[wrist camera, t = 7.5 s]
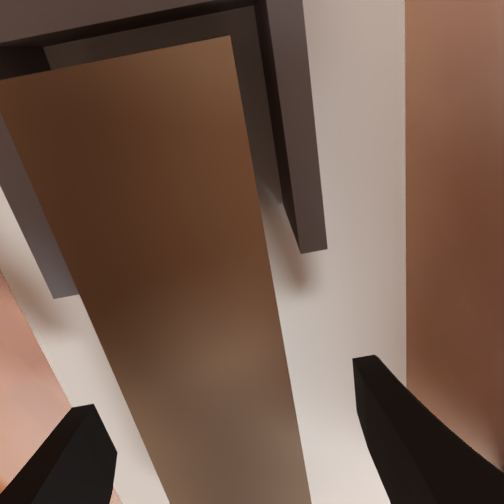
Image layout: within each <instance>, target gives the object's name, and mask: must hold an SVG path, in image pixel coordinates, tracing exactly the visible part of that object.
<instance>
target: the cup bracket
mask: <svg viewBox="0 0 504 504" xmlns="http://www.w3.org/2000/svg"><path fill="white" fill-rule="evenodd" d="M229 35H230V38H231V43H232V49H233V55H234V61H235V66H236V72H237V78H238V84H239V89H240V95H241V101H242V106H243V112H244V118H245V124H246V129H247V135H248V141H249V147H250V152H251V158H252V164H253V170H254V175H255V181H256V187H257V192H258V198H259V204H260V210H261V215H262V221H263V227H264V233H265V238H266V244H267V250H268V256H269V261H270V267H271V273H272V278H273V284H274V290H275V296H276V301H277V307H278V313H279V319H280V324H281V330H282V336H283V342H284V347H285V353H286V359H287V364H288V370H289V376H290V382H291V387H292V393H293V399H294V405H295V410H296V416H297V422H298V428H299V433H300V439H301V445H302V450H303V456H304V462H305V468H306V473H307V479H308V485H309V491H310V496H311V502H312V504H391V503H390V500H389V498H388V496H387V493H386V491H385V488H384V486H383V484H382V481H381V479H380V477H379V474H378V472H377V469H376V467H375V465H374V462H373V460H372V457H371V455H370V453H369V450H368V447H367V444H366V441H365V438H364V435H363V431H362V428H361V425H360V421H359V418H358V415H357V411H356V398H355V386H354V374H353V362H352V358H358V357H364V356H369V355H376V356H377V357H379V358H380V359H381V361H382V362H383V363H384V364H385V365H386V366H387V368H388V369H389V370H390V371H391V372H392V373H393V374H394V375H395V376H396V378H397V379H398V380H399V381H400V382H401V383H402V384H403V385H404V386H405V387H406V161H405V0H0V80H3V79H9V78H14V77H19V76H24V75H29V74H34V73H39V72H44V71H50V70H55V69H60V68H65V67H70V66H75V65H80V64H86V63H91V62H96V61H101V60H106V59H111V58H116V57H121V56H127V55H132V54H137V53H142V52H147V51H152V50H157V49H163V48H168V47H173V46H178V45H183V44H188V43H193V42H198V41H204V40H209V39H214V38H219V37H224V36H229ZM0 271H1V272H2V274H3V276H4V278H5V280H6V282H7V284H8V286H9V288H10V290H11V292H12V293H13V295H14V297H15V299H16V301H17V303H18V305H19V307H20V309H21V311H22V313H23V315H24V316H25V318H26V320H27V322H28V324H29V326H30V328H31V330H32V332H33V334H34V336H35V337H36V339H37V341H38V343H39V345H40V347H41V349H42V351H43V353H44V355H45V357H46V358H47V360H48V362H49V364H50V366H51V368H52V370H53V372H54V374H55V376H56V378H57V380H58V381H59V383H60V385H61V387H62V389H63V391H64V393H65V395H66V397H67V399H68V401H69V402H70V404H71V406H72V407H77V406H83V405H89V404H94V405H95V407H96V409H97V411H98V413H99V415H100V417H101V420H102V422H103V424H104V426H105V428H106V430H107V432H108V434H109V436H110V438H111V440H112V442H113V444H114V446H115V448H116V450H117V452H118V453H117V461H116V469H115V477H114V483H113V487H114V488H115V490H116V492H117V494H118V496H119V498H120V500H121V502H122V504H170V503H169V500H168V498H167V496H166V493H165V491H164V489H163V486H162V484H161V482H160V480H159V477H158V475H157V473H156V470H155V468H154V466H153V463H152V461H151V459H150V456H149V454H148V452H147V450H146V447H145V445H144V443H143V440H142V438H141V436H140V433H139V431H138V429H137V426H136V424H135V422H134V420H133V417H132V415H131V413H130V410H129V408H128V406H127V403H126V401H125V399H124V396H123V394H122V392H121V390H120V387H119V385H118V383H117V380H116V378H115V376H114V373H113V371H112V369H111V366H110V364H109V362H108V360H107V357H106V355H105V353H104V350H103V348H102V346H101V343H100V341H99V339H98V336H97V334H96V332H95V329H94V327H93V325H92V323H91V320H90V318H89V316H88V313H87V311H86V309H85V306H84V304H83V302H82V299H81V297H80V295H79V293H78V290H77V288H76V286H75V283H74V281H73V279H72V276H71V274H70V272H69V269H68V267H67V265H66V263H65V260H64V258H63V256H62V253H61V251H60V249H59V246H58V244H57V242H56V239H55V237H54V235H53V233H52V230H51V228H50V226H49V223H48V221H47V219H46V216H45V214H44V212H43V209H42V207H41V205H40V203H39V200H38V198H37V196H36V193H35V191H34V189H33V186H32V184H31V182H30V179H29V177H28V175H27V173H26V170H25V168H24V166H23V163H22V161H21V159H20V156H19V154H18V152H17V149H16V147H15V145H14V143H13V140H12V138H11V136H10V133H9V131H8V129H7V126H6V124H5V122H4V119H3V117H2V115H1V113H0Z"/></svg>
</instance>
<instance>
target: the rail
mask: <svg viewBox="0 0 504 504" xmlns="http://www.w3.org/2000/svg"><path fill="white" fill-rule="evenodd" d="M0 113H1V115H2V117H3V119H4V122H5V124H6V126H7V129H8V131H9V133H10V136H11V138H12V140H13V143H14V145H15V147H16V149H17V152H18V154H19V156H20V159H21V161H22V163H23V166H24V168H25V170H26V173H27V175H28V177H29V179H30V182H31V184H32V186H33V189H34V191H35V193H36V196H37V198H38V200H39V203H40V205H41V207H42V209H43V212H44V214H45V216H46V219H47V221H48V223H49V226H50V228H51V230H52V233H53V235H54V237H55V239H56V242H57V244H58V246H59V249H60V251H61V253H62V256H63V258H64V260H65V263H66V265H67V267H68V269H69V272H70V274H71V276H72V279H73V281H74V283H75V286H76V288H77V290H78V293H79V295H80V297H81V299H82V302H83V304H84V306H85V309H86V311H87V313H88V316H89V318H90V320H91V323H92V325H93V327H94V329H95V332H96V334H97V336H98V339H99V341H100V343H101V346H102V348H103V350H104V353H105V355H106V357H107V360H108V362H109V364H110V366H111V369H112V371H113V373H114V376H115V378H116V380H117V383H118V385H119V387H120V390H121V392H122V394H123V396H124V399H125V401H126V403H127V406H128V408H129V410H130V413H131V415H132V417H133V420H134V422H135V424H136V426H137V429H138V431H139V433H140V436H141V438H142V440H143V443H144V445H145V447H146V450H147V452H148V454H149V456H150V459H151V461H152V463H153V466H154V468H155V470H156V473H157V475H158V477H159V480H160V482H161V484H162V486H163V489H164V491H165V493H166V496H167V498H168V500H169V503H170V504H312V502H311V496H310V491H309V485H308V479H307V473H306V468H305V462H304V456H303V450H302V445H301V439H300V433H299V428H298V422H297V416H296V410H295V405H294V399H293V393H292V387H291V382H290V376H289V370H288V364H287V359H286V353H285V347H284V342H283V336H282V330H281V324H280V319H279V313H278V307H277V301H276V296H275V290H274V284H273V278H272V273H271V267H270V261H269V256H268V250H267V244H266V238H265V233H264V227H263V221H262V215H261V210H260V204H259V198H258V192H257V187H256V181H255V175H254V170H253V164H252V158H251V152H250V147H249V141H248V135H247V129H246V124H245V118H244V112H243V106H242V101H241V95H240V89H239V84H238V78H237V72H236V66H235V61H234V55H233V49H232V43H231V38H230V35H229V36H224V37H219V38H214V39H209V40H204V41H198V42H193V43H188V44H183V45H178V46H173V47H168V48H163V49H157V50H152V51H147V52H142V53H137V54H132V55H127V56H121V57H116V58H111V59H106V60H101V61H96V62H91V63H86V64H80V65H75V66H70V67H65V68H60V69H55V70H50V71H44V72H39V73H34V74H29V75H24V76H19V77H14V78H9V79H3V80H0Z"/></svg>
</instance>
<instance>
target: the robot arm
mask: <svg viewBox="0 0 504 504" xmlns="http://www.w3.org/2000/svg"><path fill="white" fill-rule="evenodd" d="M352 362H353V374H354V386H355V398H356V411H357V415H358V418H359V421H360V425H361V428H362V431H363V435H364V438H365V441H366V444H367V447H368V450H369V453H370V455H371V457H372V460H373V462H374V465H375V467H376V469H377V472H378V474H379V477H380V479H381V481H382V484H383V486H384V488H385V491H386V493H387V496H388V498H389V500H390V503H391V504H504V473H503V472H501V471H500V470H499V469H498V468H496V467H495V466H494V465H492V464H491V463H490V462H488V461H487V460H486V459H485V458H483V457H482V456H481V455H480V454H478V453H477V452H476V451H475V450H473V449H472V448H471V447H470V446H469V445H467V444H466V443H465V442H464V441H463V440H461V439H460V438H459V437H458V436H457V435H456V434H455V433H453V432H452V431H451V430H450V429H449V428H448V427H447V426H445V425H444V424H443V423H442V422H441V421H440V420H439V419H438V418H437V417H436V416H435V415H433V414H432V413H431V412H430V411H429V410H428V409H427V408H426V407H425V406H424V405H423V404H422V403H421V402H420V401H419V400H418V399H417V398H416V397H415V396H414V395H413V394H412V393H411V392H410V391H409V390H408V389H407V388H406V387H405V386H404V385H403V384H402V383H401V382H400V381H399V380H398V379H397V378H396V376H395V375H394V374H393V373H392V372H391V371H390V370H389V369H388V368H387V366H386V365H385V364H384V363H383V362H382V361H381V359H380V358H379V357H377V356H376V355H369V356H364V357H358V358H352ZM117 453H118V452H117V450H116V448H115V446H114V444H113V442H112V440H111V438H110V436H109V434H108V432H107V430H106V428H105V426H104V424H103V422H102V420H101V417H100V415H99V413H98V411H97V409H96V407H95V405H94V404H89V405H83V406H77V407H72V408H71V410H70V411H69V412H68V413H67V414H66V415H65V417H64V418H63V419H62V420H61V421H60V423H59V424H58V425H57V426H56V428H55V429H54V430H53V431H52V433H51V434H50V435H49V436H48V438H47V439H46V440H45V441H44V443H43V444H42V445H41V446H40V447H39V449H38V450H37V451H36V452H35V454H34V455H33V456H32V457H31V458H30V460H29V461H28V462H27V463H26V465H25V466H24V467H23V468H22V469H21V471H20V472H19V473H18V474H17V475H16V477H15V478H14V479H13V480H12V481H11V483H10V484H9V485H8V486H7V487H6V488H5V489H4V490H3V492H2V493H1V494H0V504H109V503H110V499H111V495H112V490H113V483H114V477H115V469H116V461H117Z"/></svg>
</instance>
